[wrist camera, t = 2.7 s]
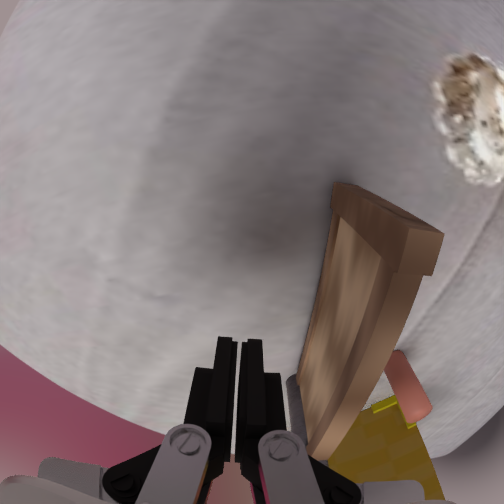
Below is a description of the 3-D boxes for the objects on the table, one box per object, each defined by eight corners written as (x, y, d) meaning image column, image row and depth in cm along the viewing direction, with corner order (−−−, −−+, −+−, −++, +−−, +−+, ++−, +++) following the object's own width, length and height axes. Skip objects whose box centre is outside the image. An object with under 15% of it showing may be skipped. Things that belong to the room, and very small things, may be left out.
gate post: (288, 373, 23) (300, 473, 14) (314, 373, 23) (334, 470, 14) (284, 389, 24) (293, 484, 15) (308, 389, 24) (324, 481, 15)
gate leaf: (333, 181, 16) (409, 228, 8) (357, 185, 16) (444, 233, 8) (294, 373, 22) (307, 466, 14) (312, 373, 22) (330, 464, 14)
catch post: (386, 351, 22) (415, 408, 16) (407, 349, 22) (437, 402, 16) (377, 369, 23) (401, 425, 17) (397, 367, 23) (423, 420, 17)
